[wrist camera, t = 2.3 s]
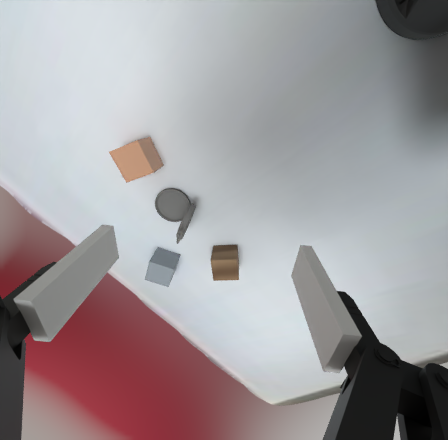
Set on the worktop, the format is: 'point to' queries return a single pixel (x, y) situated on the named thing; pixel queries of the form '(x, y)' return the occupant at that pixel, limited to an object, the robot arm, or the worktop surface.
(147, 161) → the terracotta cube
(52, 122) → the worktop surface
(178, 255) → the slate cube
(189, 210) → the pocket watch
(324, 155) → the worktop surface
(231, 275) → the walnut cube
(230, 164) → the worktop surface
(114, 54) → the worktop surface
